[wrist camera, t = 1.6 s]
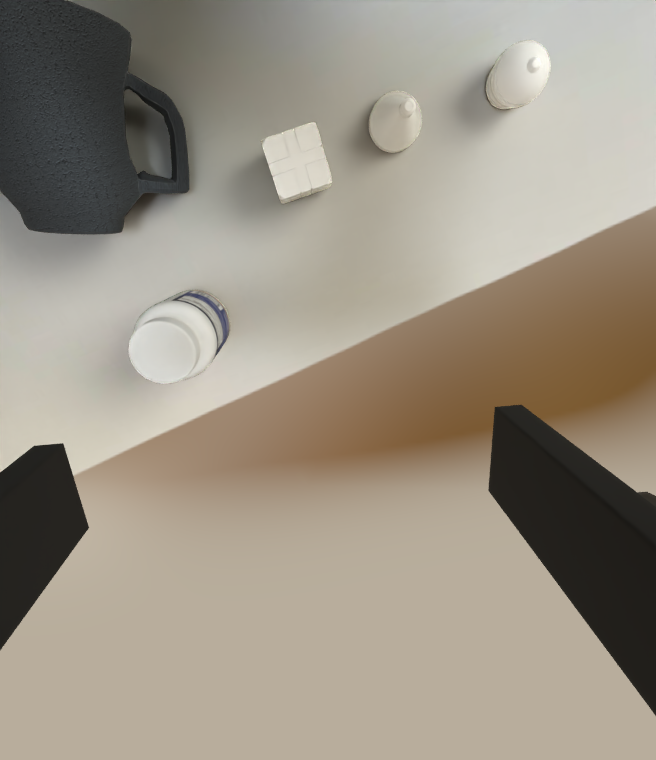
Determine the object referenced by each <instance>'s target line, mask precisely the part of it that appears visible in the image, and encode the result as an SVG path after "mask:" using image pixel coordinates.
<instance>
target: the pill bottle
mask: <svg viewBox="0 0 656 760" xmlns="http://www.w3.org/2000/svg"><path fill="white" fill-rule="evenodd" d="M229 331H230V319H229V315H228V312H227V310H226V308H225V307H224V305H223V304H222V303H221V302H220V300H218V299H217V298H216V297H215V296H213V295H212V294H210V293H207V292H205V291H200V290H188V291H184V292H181V293H178V294H176V295H174V296H172V297H170V298H168V299H166V300H164V301H162V302H160V303H157V304H155V305H154V306H152V307H150V308H149V309H147V310H146V311H145V312H144V313H143V314H142V315H141V316H140V318H139V319H138V321H137V323H136V325H135V328H134V333H133V334H132V336H131V338H130V341H129V346H128V353H129V358H130V361H131V363H132V365H133V366H134V368H135V369H136V371H137V372H138V373H139V374H140V375H142V376H143V377H144V378H146V379H148V380H150V381H152V382H155V383H159V384H171V383H176V382H179V381H181V380H185V379H189V378H192V377H195V376H197V375H199V374H200V373H202V372H203V371H204V370H205V369H206V368H207V367H208V366H209V365H210V364H211V362H212V361H213V359H214V358H215V356H216V355H217V353H218V352H219V351H220V349H221V348H222V346H223V345H224V343H225V341H226V340H227V337H228V335H229Z"/></svg>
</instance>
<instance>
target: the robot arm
mask: <svg viewBox="0 0 656 760" xmlns="http://www.w3.org/2000/svg"><path fill="white" fill-rule="evenodd" d="M489 492H490V493H491V495H492V496H493V497H494V499H495V500H496V501H497V503H498V504H499V505H500V507H501V508H502V509H503V511H504V512H505V513H506V514H507V516H508V517H509V519H510V520H511V522H512V523H513V524H514V526H515V527H516V528H517V529H518V530H519V532H520V534H521V535H522V536H523V538H524V539H525V540H526V542H527V543H528V544H529V546H530V547H531V548H532V550H533V551H534V552H535V554H536V555H537V556H538V558H539V559H540V560H541V562H542V563H543V565H544V566H545V567H546V569H547V570H548V571H549V573H550V574H551V575H552V577H553V578H554V579H555V581H556V582H557V583H558V585H559V586H560V587H561V589H562V590H563V591H564V593H565V594H566V595H567V597H568V598H569V600H570V601H571V602H572V604H573V605H574V606H575V608H576V609H577V610H578V612H579V613H580V614H581V616H582V617H583V618H584V620H585V621H586V622H587V624H588V625H589V626H590V628H591V629H592V630H593V632H594V633H595V635H596V636H597V637H598V638H599V640H600V641H601V643H602V644H603V645H604V647H605V648H606V649H607V651H608V652H609V653H610V654H611V656H612V657H613V659H614V660H615V661H616V663H617V664H618V665H619V667H620V668H621V670H622V671H623V672H624V674H625V675H626V676H627V678H628V679H629V680H630V682H631V683H632V684H633V686H634V687H635V688H636V689H637V691H638V692H639V694H640V695H641V696H642V698H643V699H644V700H645V702H646V703H647V704H648V705H649V707H650V708H651V710H652V711H653V713H654V714H655V715H656V496H655V495H652V494H650V493H648V492H639V493H637V492H636V491H634V490H633V489H632V488H630V487H629V486H628V485H626V484H625V483H624V482H623V481H621V480H620V479H619V478H617V477H616V476H615V475H613V474H612V473H611V472H609V471H608V470H607V469H605V468H604V467H603V466H601V465H600V464H599V463H598V462H596V461H595V460H593V459H592V458H591V457H589V456H588V455H587V454H586V453H584V452H583V451H582V450H580V449H579V448H578V447H576V446H575V445H574V444H572V443H571V442H570V441H569V440H567V439H566V438H565V437H563V436H562V435H561V434H559V433H558V432H557V431H555V430H554V429H553V428H551V427H550V426H549V425H547V424H546V423H545V422H543V421H542V420H541V419H540V418H538V417H537V416H536V415H534V414H533V413H531V412H530V411H529V410H528V409H526V408H525V407H524V406H522V405H513V406H501V407H495V413H494V425H493V439H492V452H491V465H490V478H489ZM88 528H89V527H88V523H87V520H86V517H85V514H84V510H83V507H82V504H81V500H80V497H79V494H78V490H77V487H76V484H75V481H74V477H73V474H72V471H71V468H70V464H69V461H68V458H67V454H66V451H65V448H64V445H63V444H51V445H40V446H33V447H32V448H31V449H30V450H28V451H27V452H26V453H25V454H23V455H22V456H21V457H19V458H18V459H17V460H16V461H14V462H13V463H12V464H11V465H9V466H8V467H7V468H6V469H4V470H3V471H2V472H0V650H1V648H2V647H3V646H4V644H5V643H6V642H7V640H8V639H9V637H10V636H11V635H12V633H13V632H14V630H15V629H16V628H17V626H18V625H19V624H20V622H21V621H22V619H23V618H24V617H25V615H26V614H27V613H28V611H29V610H30V608H31V607H32V606H33V604H34V603H35V601H36V600H37V599H38V597H39V596H40V594H41V593H42V592H43V590H44V589H45V587H46V586H47V585H48V583H49V582H50V581H51V579H52V578H53V576H54V575H55V574H56V572H57V571H58V570H59V568H60V567H61V565H62V564H63V563H64V561H65V560H66V559H67V557H68V556H69V554H70V553H71V552H72V550H73V549H74V547H75V546H76V545H77V543H78V542H79V541H80V539H81V538H82V536H83V535H84V534H85V532H86V531H87V530H88Z"/></svg>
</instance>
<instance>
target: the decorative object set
mask: <svg viewBox="0 0 656 760" xmlns="http://www.w3.org/2000/svg"><path fill="white" fill-rule="evenodd" d="M550 68H551V62H550V57H549V54H548V52H547V50H546V49H545V47H544V46H542V45H541V44H540V43H538V42H536V41H532V40H524V41H520V42H517V43H515V44H513V45H511V46H510V47H508V48H507V49H506V50H505V51H504V52H503V53H502V54H501V55H500V56H499V58H498V59H497V61H496V63H495V65H494V67H493V69H492V70H491V72H490V73H489V75H488V78H487V82H486V93H487V97H488V99H489V101H490V102H491V104H492V105H494V106H495V107H496V108H499V109H510V108H518V107H522V106H524V105H527V104H529V103H530V102H532V101H533V100H534V99H535V98H536V97H537V96H538V95H539V94H540V93H541V92H542V90H543V89H544V87H545V85H546V83H547V81H548V78H549V75H550ZM421 126H422V113H421V110H420V107H419V105H418V103H417V101H416V100H415V99H414V98H413V97H412V96H411V95H410V94H408V93H406V92H403V91H392V92H388V93H386V94H384V95H383V96H382V97H381V98H380V99H379V100H378V101H377V102H376V104H375V106H374V107H373V109H372V111H371V114H370V117H369V132H370V135H371V138H372V140H373V141H374V143H375V144H376V145H377V146H378V147H379V148H380V149H381V150H384V151H386V152H390V153H396V152H400V151H403V150H405V149H406V148H407V147H409V146H410V145H411V144H412V143H413V142H414V141H415V140H416V138H417V137H418V135H419V133H420V130H421ZM261 144H262V147H263V150H264V153H265V156H266V159H267V162H268V165H269V168H270V171H271V174H272V177H273V181H274V184H275V187H276V190H277V193H278V196H279V199H280V201H281V203H282V204H284V203H288V202H291V201H294V200H297V199H300V197H301V198H303V197H305V196H308V195H310V193H311V194H314V193H317V192H320V191H323V190H326V189H328V188H330V186H331V185H332V183H333V182H332V177H331V173H330V170H329V166H328V163H327V159H326V156H325V152H324V149H323V147H322V142H321V138H320V135H319V131H318V128H317V125H316V123H315V122H310V123H307V124H304V125H301V126H298V127H295V128H294V130H293V129H290V130H287V131H284V132H283V134H282V132H281V133H278V134H275V135H273V136H270V137H267V138H265V139H263V140H262V141H261Z"/></svg>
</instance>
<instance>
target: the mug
mask: <svg viewBox="0 0 656 760" xmlns="http://www.w3.org/2000/svg"><path fill="white" fill-rule="evenodd" d="M131 42H132V39H131V35H130V32H128V31H127V30H126V29H125V28H124V27H123V26H121V25H120V24H119V23H117V22H115V21H113V20H111V19H110V18H108V17H106V16H104V15H102V14H100V13H98V12H95V11H93V10H90V9H88V8H85V7H82V6H80V5H77V4H75V3H72V2H69V1H66V0H0V190H1V192H2V193H3V194H4V195H5V196H6V197H7V198H8V199H9V201H10V202H11V203H12V204H13V205H14V206H15V207H16V208H17V210H18V211H19V212H20V214H21V216H22V219H23V221H24V224H25V225H26V227H27V228H28V229H29V230H33V231H39V232H47V233H60V234H113V233H120V232H122V230H123V227H124V217H125V215H126V214H127V213H128V211H129V210H130V209H131V208H132V206H133V205H134V204H135V203H136V201H137V200H138V199H139V197H140V196H141V195H142V194H143V193H162V194H172V193H186V192H188V190H189V167H188V154H187V144H186V135H185V128H184V124H183V120H182V117H181V115H180V114H179V112H178V110H177V108H176V106H175V105H174V103H173V102H172V100H171V99H170V98H169V97H168V96H167V95H166V94H165V93H164V92H162V91H160V90H158V89H156V88H154V87H153V86H151V85H149V84H147V83H146V82H144V81H143V80H141V79H140V78H138V77H136V76H134V75H132V74H130V73H129V72H127V71H128V65H129V59H130V52H131ZM125 89H130V90H131V91H133V92H134V93H136V94H137V95H138V96H139V97H140V98H141V99H142V100H143V101H144V102H145V103H146V104H148V105H149V106H151V107H152V108H154V109H155V110H156V111H158V112H159V113H161V114H162V115H163V116H164V120H165V123H166V125H167V128H168V132H169V135H170V145H171V160H172V178H171V179H166V178H163V177H158V176H153V175H150V174H148V173H147V172H145V171H142V172H140V173H138V174H137V172H136V170H135V168H134V165H133V163H132V161H131V159H130V155H129V150H128V145H127V140H126V132H125V112H124V93H123V91H124V90H125Z"/></svg>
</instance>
